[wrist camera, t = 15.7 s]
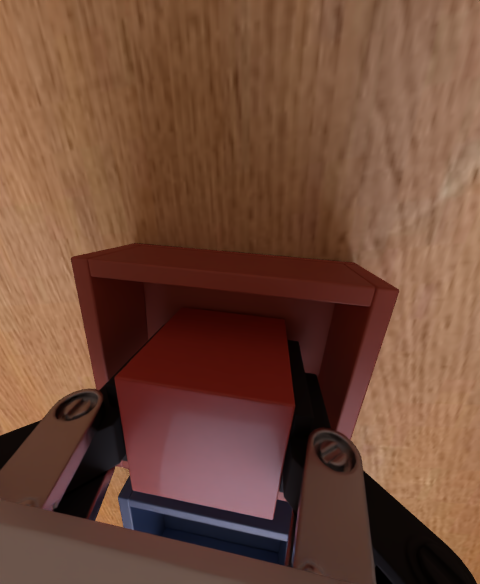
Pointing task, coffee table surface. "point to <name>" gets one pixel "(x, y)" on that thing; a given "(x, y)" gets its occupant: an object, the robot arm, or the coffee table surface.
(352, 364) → the red bin
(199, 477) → the red block
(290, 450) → the robot arm
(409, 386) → the coffee table surface
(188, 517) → the blue bin
